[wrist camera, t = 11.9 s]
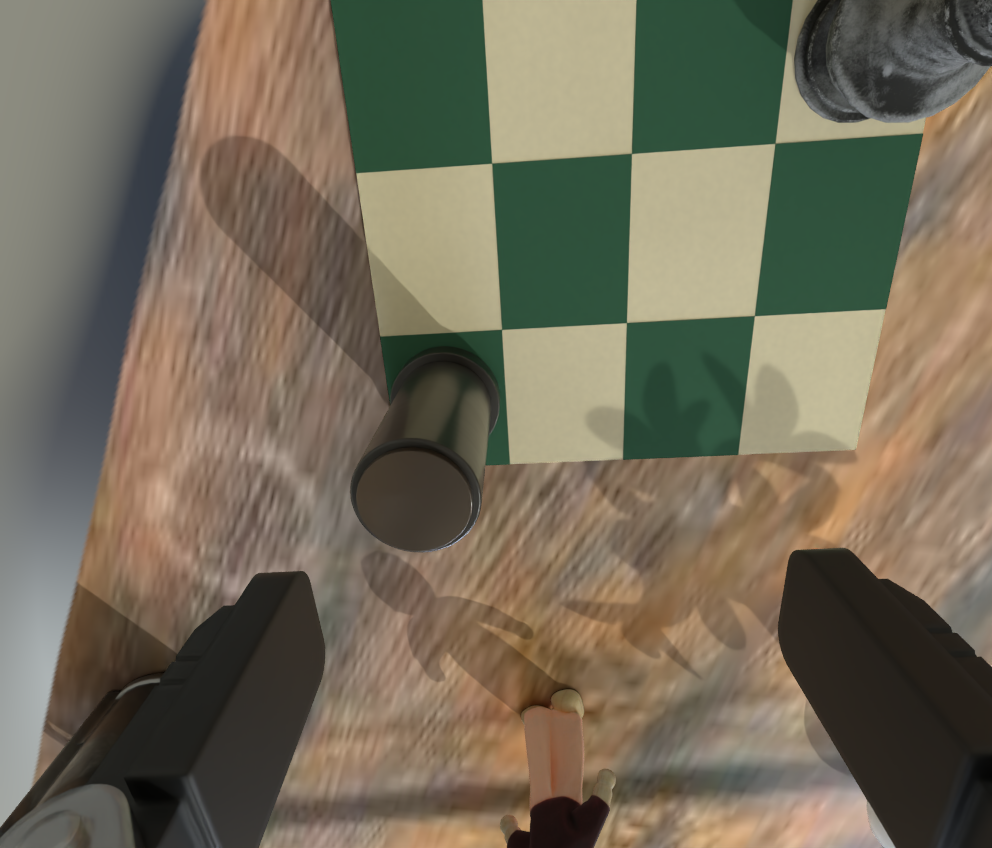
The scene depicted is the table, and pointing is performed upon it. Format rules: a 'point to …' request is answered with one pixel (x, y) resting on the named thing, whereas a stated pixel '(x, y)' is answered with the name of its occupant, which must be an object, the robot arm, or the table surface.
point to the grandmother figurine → (559, 780)
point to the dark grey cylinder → (429, 452)
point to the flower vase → (878, 829)
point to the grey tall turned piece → (891, 57)
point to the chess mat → (624, 220)
